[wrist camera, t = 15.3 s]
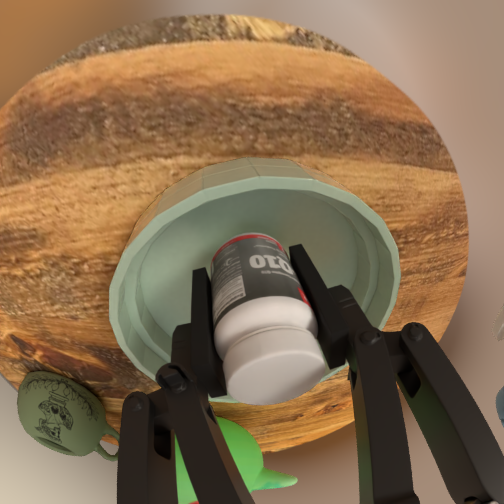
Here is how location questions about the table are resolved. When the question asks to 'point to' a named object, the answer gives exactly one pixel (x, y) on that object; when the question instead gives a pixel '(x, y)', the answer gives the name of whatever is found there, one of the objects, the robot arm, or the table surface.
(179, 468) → the toy bird
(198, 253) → the bowl
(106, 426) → the mug
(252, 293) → the pill bottle
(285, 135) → the table surface
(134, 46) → the table surface
